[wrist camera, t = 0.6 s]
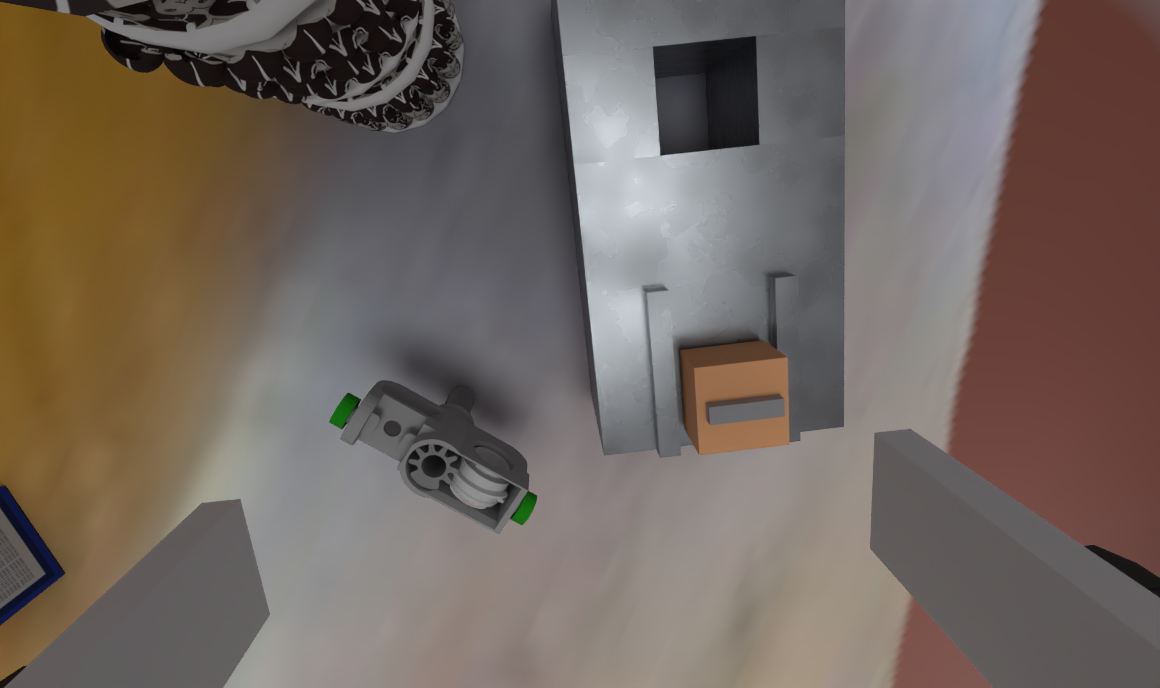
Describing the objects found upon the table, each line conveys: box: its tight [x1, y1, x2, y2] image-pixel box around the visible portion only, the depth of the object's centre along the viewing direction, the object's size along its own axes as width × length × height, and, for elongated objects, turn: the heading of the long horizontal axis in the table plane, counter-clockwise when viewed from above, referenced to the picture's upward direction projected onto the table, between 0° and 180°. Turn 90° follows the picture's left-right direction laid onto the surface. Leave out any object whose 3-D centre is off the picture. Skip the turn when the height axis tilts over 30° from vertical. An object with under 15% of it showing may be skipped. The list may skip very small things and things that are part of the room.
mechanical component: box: [329, 380, 537, 534], centre depth 33 cm, size 3×10×10 cm, turn 57°
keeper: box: [679, 340, 789, 455], centre depth 28 cm, size 4×4×4 cm
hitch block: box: [551, 0, 845, 458], centre depth 31 cm, size 22×12×10 cm, turn 6°
